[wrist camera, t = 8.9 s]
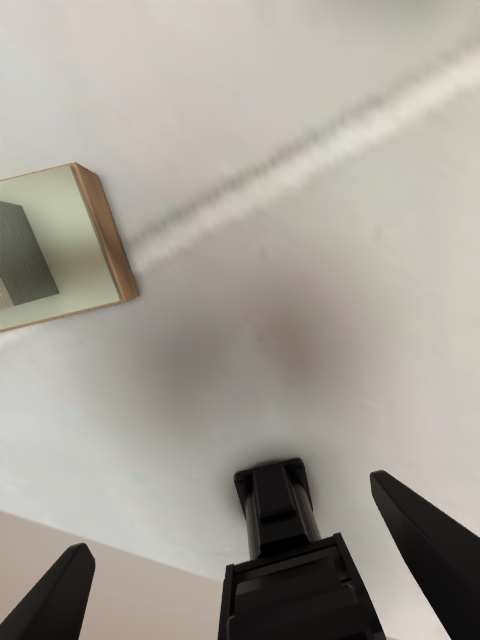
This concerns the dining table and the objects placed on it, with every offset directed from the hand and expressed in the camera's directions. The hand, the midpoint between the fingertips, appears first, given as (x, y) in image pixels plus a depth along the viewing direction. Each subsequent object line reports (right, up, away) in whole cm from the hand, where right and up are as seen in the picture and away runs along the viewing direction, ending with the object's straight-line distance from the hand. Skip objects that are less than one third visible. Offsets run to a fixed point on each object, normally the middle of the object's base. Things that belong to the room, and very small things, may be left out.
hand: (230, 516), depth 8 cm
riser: (-14, +10, +10) cm, 20 cm away
